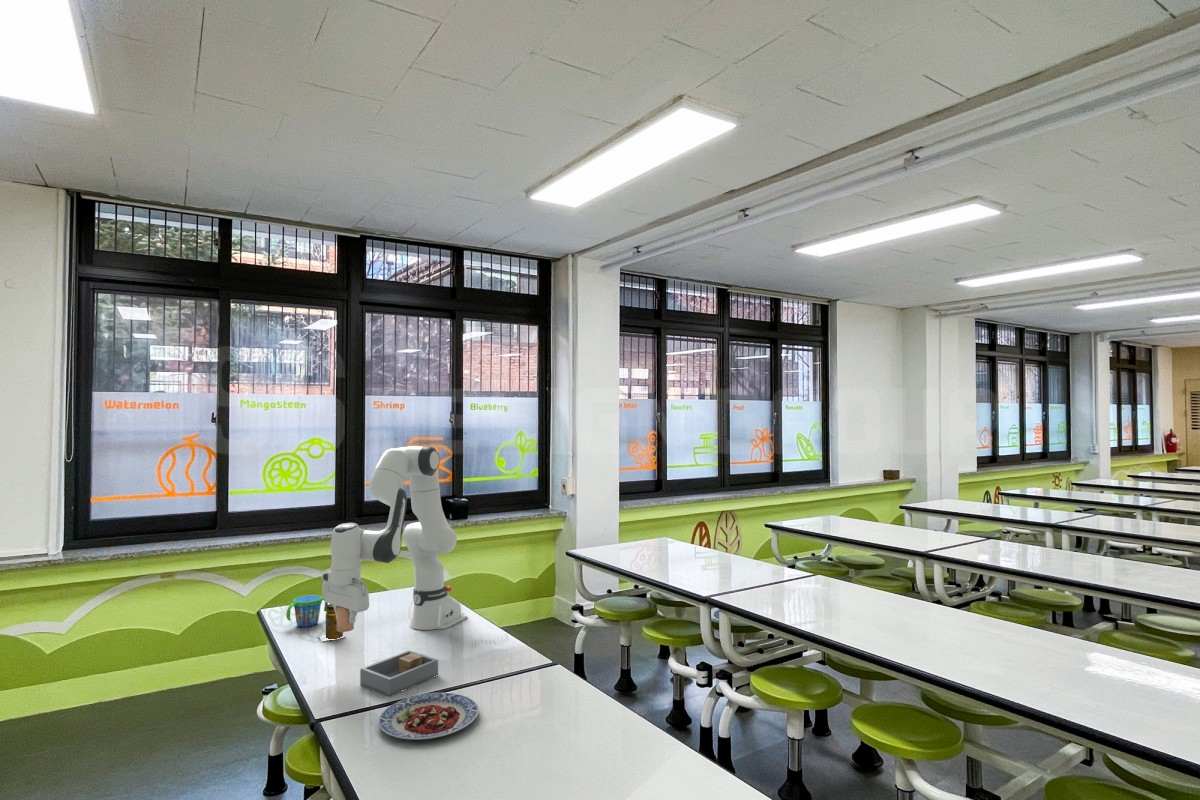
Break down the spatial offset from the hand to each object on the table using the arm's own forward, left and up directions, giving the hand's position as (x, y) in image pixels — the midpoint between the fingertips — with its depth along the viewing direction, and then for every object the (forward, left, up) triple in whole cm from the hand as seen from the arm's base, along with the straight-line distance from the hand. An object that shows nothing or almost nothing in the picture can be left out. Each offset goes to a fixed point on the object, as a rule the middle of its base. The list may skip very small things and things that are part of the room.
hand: (345, 620), depth 201 cm
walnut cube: (-12, +17, -16) cm, 26 cm away
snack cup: (-21, -56, -18) cm, 62 cm away
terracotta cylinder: (0, 0, -3) cm, 3 cm away
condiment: (-18, -35, -18) cm, 43 cm away
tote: (-8, +17, -17) cm, 25 cm away
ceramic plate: (+4, +45, -18) cm, 48 cm away
